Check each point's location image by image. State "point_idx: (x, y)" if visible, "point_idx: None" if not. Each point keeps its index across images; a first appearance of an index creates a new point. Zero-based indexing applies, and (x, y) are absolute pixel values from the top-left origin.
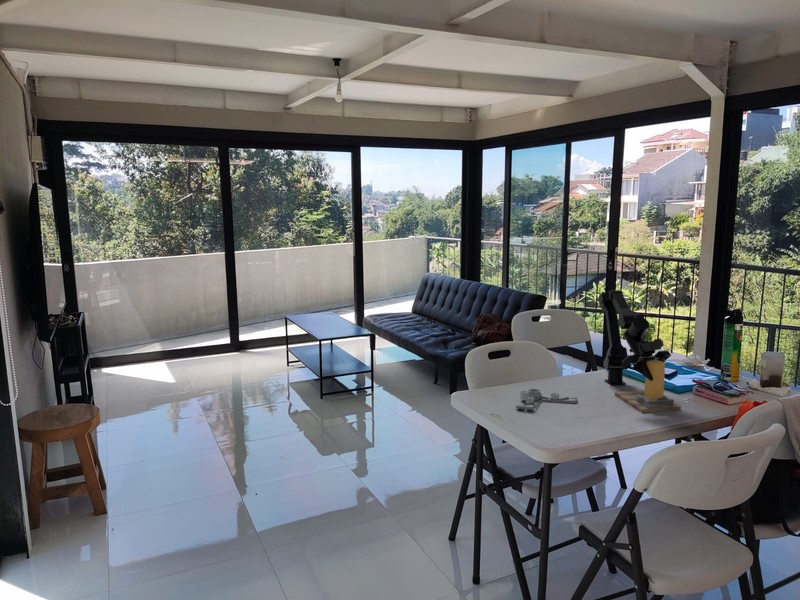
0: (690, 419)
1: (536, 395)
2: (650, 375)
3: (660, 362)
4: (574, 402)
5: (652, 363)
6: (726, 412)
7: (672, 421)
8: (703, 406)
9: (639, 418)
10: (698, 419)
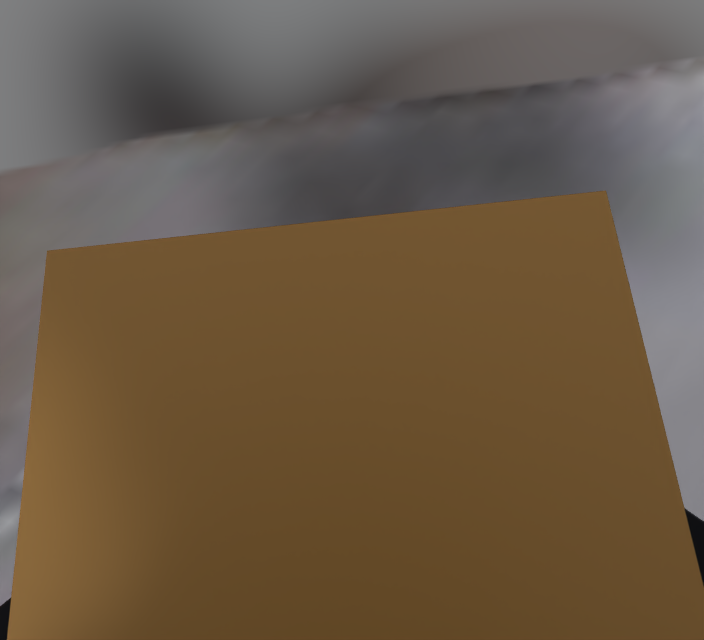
0: (319, 145)
1: None
2: None
3: (183, 355)
4: None
5: (647, 363)
6: (6, 181)
7: (460, 147)
8: (29, 323)
9: (663, 260)
10: (271, 131)
